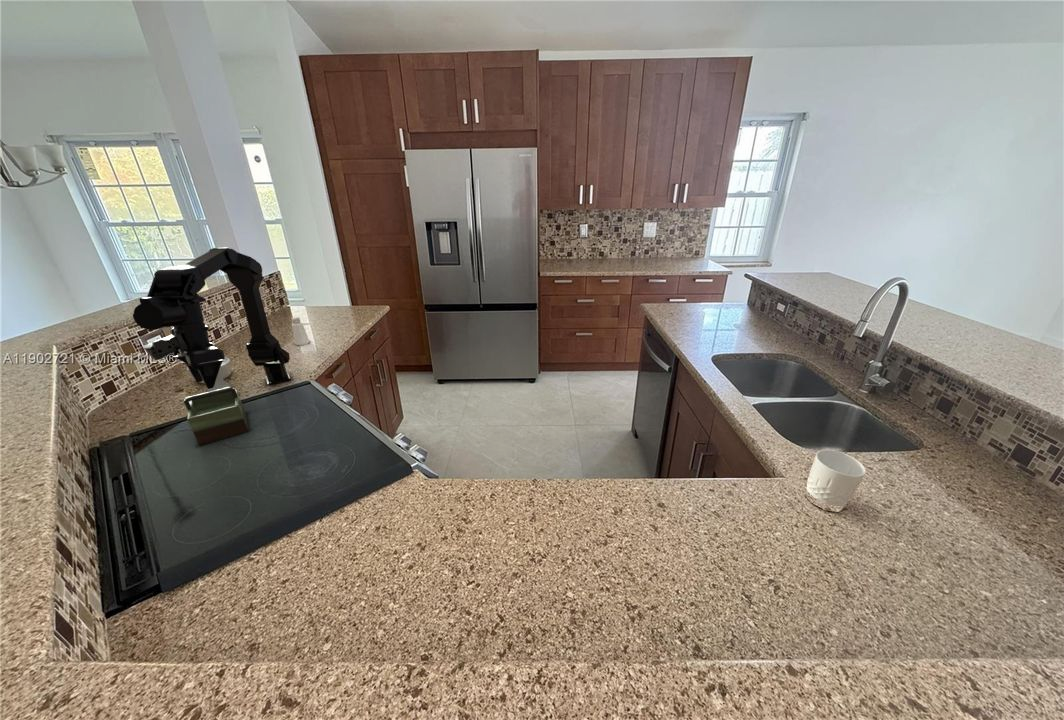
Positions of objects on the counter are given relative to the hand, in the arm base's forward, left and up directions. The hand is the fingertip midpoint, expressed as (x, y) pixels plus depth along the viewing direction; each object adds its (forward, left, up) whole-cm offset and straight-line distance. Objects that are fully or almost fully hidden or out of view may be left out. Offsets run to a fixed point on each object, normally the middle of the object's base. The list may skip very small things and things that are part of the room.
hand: (204, 385), depth 92 cm
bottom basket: (-1, 0, -14) cm, 14 cm away
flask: (-21, 0, -14) cm, 25 cm away
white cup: (+107, +97, -14) cm, 145 cm away
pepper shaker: (-57, +27, -14) cm, 65 cm away
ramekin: (-40, -2, -14) cm, 43 cm away
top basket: (-1, 0, -10) cm, 10 cm away
